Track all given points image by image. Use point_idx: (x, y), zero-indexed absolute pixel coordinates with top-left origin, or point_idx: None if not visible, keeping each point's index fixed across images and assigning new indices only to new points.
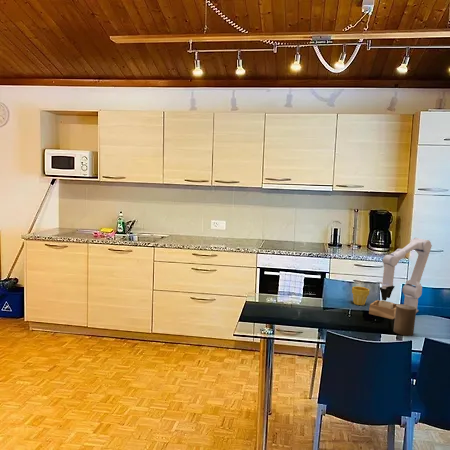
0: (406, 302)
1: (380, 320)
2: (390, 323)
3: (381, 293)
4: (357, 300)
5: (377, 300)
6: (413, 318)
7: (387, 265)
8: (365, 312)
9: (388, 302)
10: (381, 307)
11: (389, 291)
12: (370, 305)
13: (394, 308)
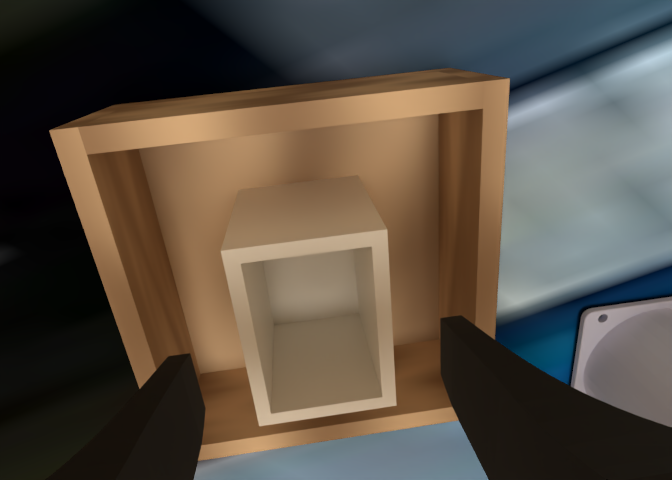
0: (667, 418)
1: (5, 318)
2: (25, 414)
3: (71, 466)
4: None
5: (482, 102)
6: None
7: None
8: (129, 38)
9: (376, 340)
10: (120, 319)
11: (503, 476)
12: (63, 141)
13: (238, 444)
